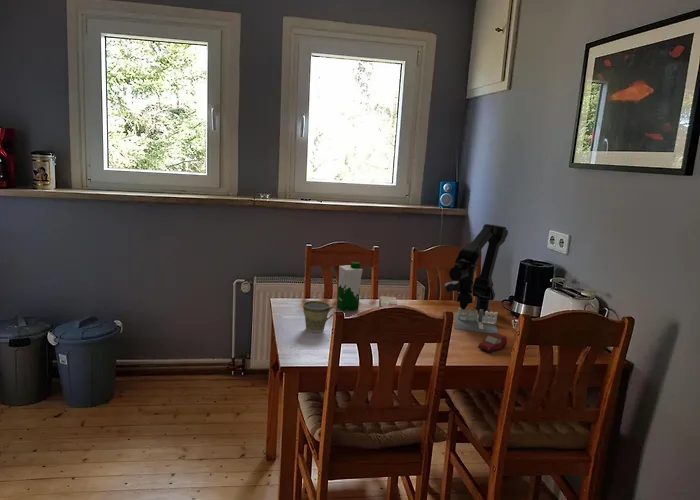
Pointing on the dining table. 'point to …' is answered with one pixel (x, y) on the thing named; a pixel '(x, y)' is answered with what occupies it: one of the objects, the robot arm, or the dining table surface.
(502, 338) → the red toy car
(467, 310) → the hinged fence panel
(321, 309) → the ceramic cup
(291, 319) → the dining table surface
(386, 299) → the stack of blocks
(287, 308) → the dining table surface
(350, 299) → the milk carton
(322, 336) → the dining table surface
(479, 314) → the fixed fence panel
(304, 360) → the dining table surface
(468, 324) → the mat
